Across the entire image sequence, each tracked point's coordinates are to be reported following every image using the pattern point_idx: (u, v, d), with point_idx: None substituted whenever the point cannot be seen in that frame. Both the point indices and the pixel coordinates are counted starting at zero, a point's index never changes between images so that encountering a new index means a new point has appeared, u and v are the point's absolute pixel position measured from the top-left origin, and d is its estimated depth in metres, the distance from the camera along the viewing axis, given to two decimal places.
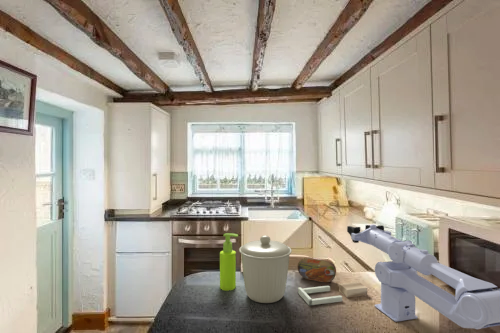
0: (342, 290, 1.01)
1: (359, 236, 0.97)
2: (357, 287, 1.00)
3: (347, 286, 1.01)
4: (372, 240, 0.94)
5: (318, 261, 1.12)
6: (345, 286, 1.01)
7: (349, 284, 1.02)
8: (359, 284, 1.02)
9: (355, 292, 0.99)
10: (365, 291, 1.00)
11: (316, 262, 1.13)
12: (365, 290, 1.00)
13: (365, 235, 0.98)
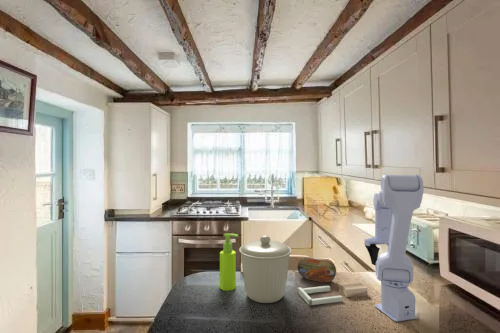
0: (342, 289, 1.01)
1: None
2: (357, 287, 1.00)
3: (347, 286, 1.01)
4: (376, 229, 1.04)
5: (318, 261, 1.12)
6: (344, 286, 1.01)
7: (349, 284, 1.02)
8: (359, 284, 1.02)
9: (354, 292, 0.99)
10: (365, 291, 1.00)
11: (316, 262, 1.13)
12: (365, 290, 1.00)
13: (375, 239, 1.04)
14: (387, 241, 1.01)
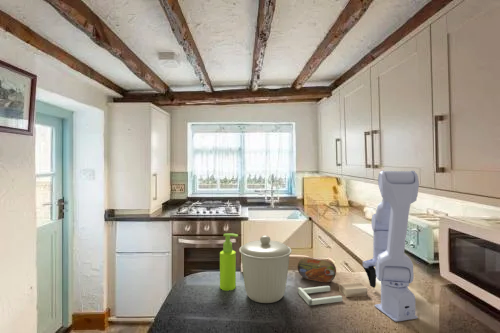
0: (341, 289, 1.01)
1: None
2: (357, 287, 1.00)
3: (347, 286, 1.01)
4: (375, 251, 1.03)
5: (318, 261, 1.12)
6: (344, 286, 1.01)
7: (349, 284, 1.03)
8: (359, 284, 1.02)
9: (354, 292, 0.99)
10: (365, 291, 1.00)
11: (316, 262, 1.13)
12: (365, 290, 1.00)
13: (373, 260, 1.04)
14: None
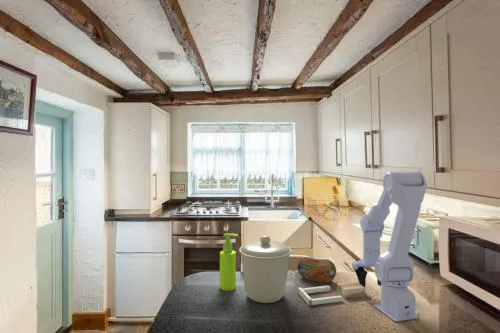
0: (339, 289, 1.01)
1: None
2: (355, 287, 1.00)
3: (345, 286, 1.01)
4: (364, 252, 1.02)
5: (318, 261, 1.12)
6: (342, 286, 1.00)
7: (347, 284, 1.02)
8: (357, 284, 1.02)
9: (352, 292, 0.98)
10: (363, 291, 0.99)
11: (316, 262, 1.13)
12: (363, 290, 0.99)
13: (363, 261, 1.03)
14: (375, 264, 1.00)
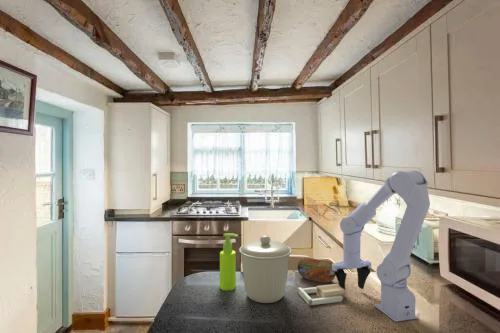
0: (319, 292, 0.99)
1: None
2: (334, 289, 0.98)
3: (325, 288, 0.99)
4: (344, 254, 1.01)
5: (318, 261, 1.12)
6: (322, 289, 0.98)
7: (327, 286, 1.00)
8: (337, 286, 1.00)
9: (331, 295, 0.96)
10: (342, 293, 0.97)
11: (316, 262, 1.13)
12: (342, 292, 0.97)
13: (343, 263, 1.01)
14: (354, 266, 0.98)
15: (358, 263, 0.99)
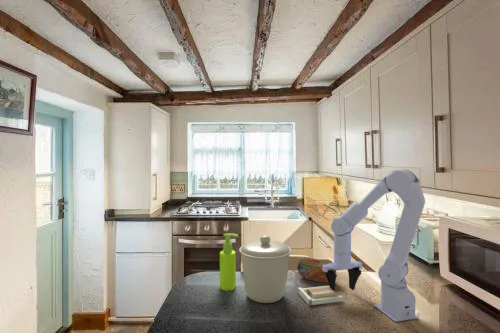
0: (309, 294, 0.98)
1: None
2: (324, 292, 0.97)
3: (315, 290, 0.98)
4: (335, 254, 1.00)
5: (318, 261, 1.12)
6: (312, 291, 0.97)
7: (317, 288, 0.99)
8: (327, 288, 0.99)
9: (322, 297, 0.95)
10: None
11: (316, 262, 1.13)
12: (332, 295, 0.96)
13: (333, 264, 1.00)
14: (345, 267, 0.97)
15: (348, 264, 0.98)
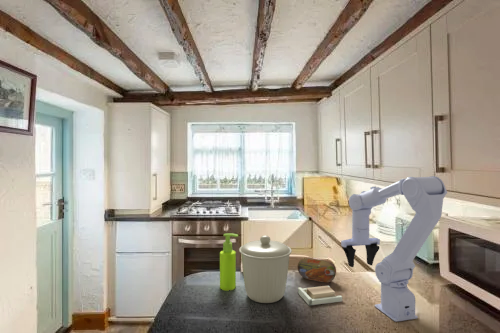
0: (309, 294, 0.98)
1: None
2: (324, 291, 0.97)
3: (315, 290, 0.98)
4: (353, 230, 1.02)
5: (318, 261, 1.12)
6: (312, 291, 0.97)
7: (317, 288, 0.99)
8: (327, 288, 0.99)
9: (321, 297, 0.95)
10: (332, 295, 0.97)
11: (316, 262, 1.13)
12: (332, 294, 0.97)
13: (352, 240, 1.02)
14: (363, 242, 0.99)
15: (367, 239, 1.00)
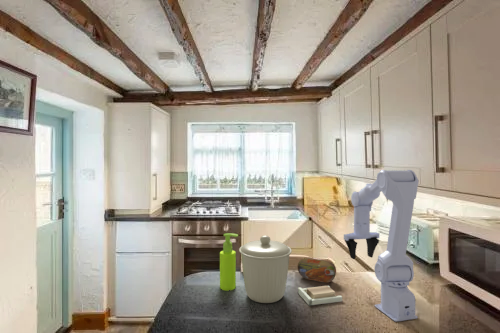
0: (309, 294, 0.97)
1: None
2: (324, 291, 0.97)
3: (315, 290, 0.98)
4: (355, 225, 1.10)
5: (318, 261, 1.12)
6: (312, 291, 0.97)
7: (317, 288, 0.99)
8: (327, 288, 0.99)
9: (322, 297, 0.95)
10: (332, 295, 0.97)
11: (316, 262, 1.13)
12: (332, 294, 0.97)
13: (354, 234, 1.11)
14: (364, 236, 1.08)
15: (368, 233, 1.09)
